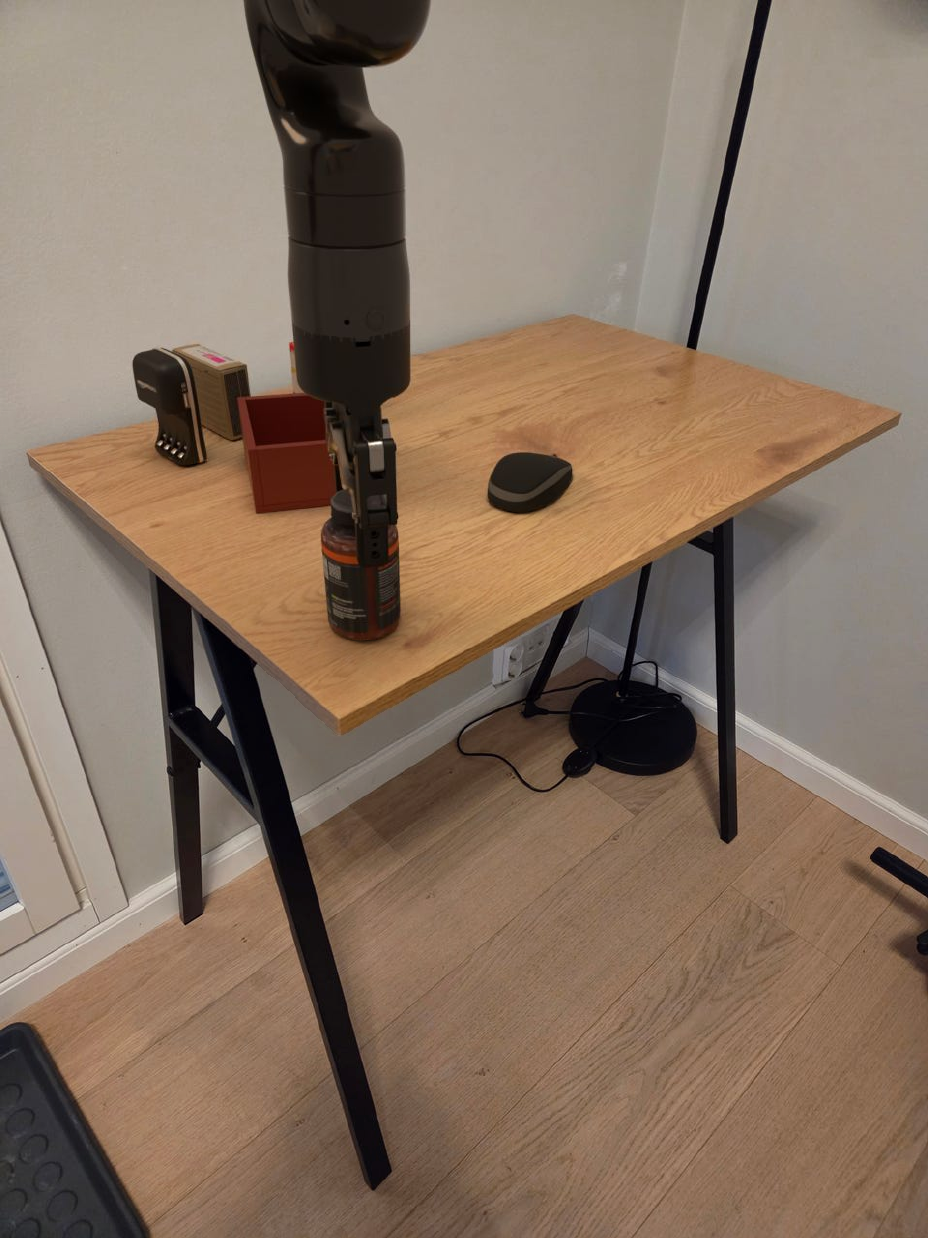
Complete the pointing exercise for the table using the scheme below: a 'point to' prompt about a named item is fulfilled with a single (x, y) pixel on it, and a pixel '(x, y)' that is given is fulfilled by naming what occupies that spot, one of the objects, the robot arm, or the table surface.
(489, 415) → the table surface
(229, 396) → the ink box
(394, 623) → the supplement bottle
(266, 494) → the tote
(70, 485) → the table surface
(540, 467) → the computer mouse
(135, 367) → the battery charger
